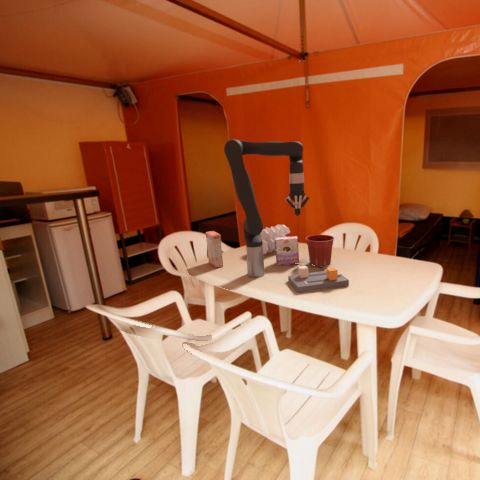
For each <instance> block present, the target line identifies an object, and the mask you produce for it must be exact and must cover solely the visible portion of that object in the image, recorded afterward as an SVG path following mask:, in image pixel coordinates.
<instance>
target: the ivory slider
mask: <svg viewBox="0 0 480 480" xmlns="http://www.w3.org/2000/svg"><path fill="white" fill-rule="evenodd" d="M297 269H298V272H297V275H299V277H300V278H306V277H309V276H308V273H309V267H308V266H306V265H300V266H298V267H297Z"/></svg>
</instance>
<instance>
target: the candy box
mask: <svg viewBox="0 0 480 480" xmlns="http://www.w3.org/2000/svg"><path fill="white" fill-rule="evenodd" d="M275 248H276V251H275V260H276V261H275V262H276V263H275V264H276V266H287V265H288V266H290V265H296V264H295V263H299V264H300V255H299V238H298V236H297V235H295V236H286V237H276V238H275Z"/></svg>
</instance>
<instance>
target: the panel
mask: <svg viewBox="0 0 480 480" xmlns="http://www.w3.org/2000/svg"><path fill="white" fill-rule="evenodd" d="M308 276H309V277H306V278H300V277H299V275H298V274H291V275H288V276H287V278H288V279H287V280H288V283H289V284H290V285H291V287H293V289H295V291H296V292H297V293H299V294H300V293H306V292H307V293H308V292H312V291H313V292H314V291H319V290H320V291H322V290H328V289H329V290H330V289H335V288H341V287H342V288H343V287H348V286H350V280H349V278H347V277H345V276H344V275H343V274H342V272H340V271H338V280H331V281H330V280H329V279H327V273H326V270H322V271H321V270H320V271H314V272H308Z"/></svg>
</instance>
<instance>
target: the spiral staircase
mask: <svg viewBox="0 0 480 480" xmlns="http://www.w3.org/2000/svg"><path fill="white" fill-rule="evenodd" d="M290 233H291V231H290V227H287V226H286V225H285V224H277V225H275V226H270V228H269V227H267V226H266V227H265V228H263V230H262V232H261V233H260V236H261V239H262V242H263V255H267V253H273V251H274V252H276V248H275V238H276V237H287V236H286V235H288V234H290Z"/></svg>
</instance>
